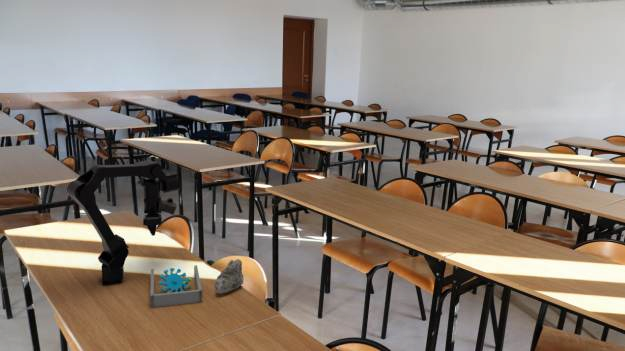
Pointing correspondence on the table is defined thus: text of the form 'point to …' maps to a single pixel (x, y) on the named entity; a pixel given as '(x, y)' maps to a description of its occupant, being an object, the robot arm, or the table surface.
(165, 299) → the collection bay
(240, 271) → the mineral rock
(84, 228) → the table surface
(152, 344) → the table surface
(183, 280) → the gear
